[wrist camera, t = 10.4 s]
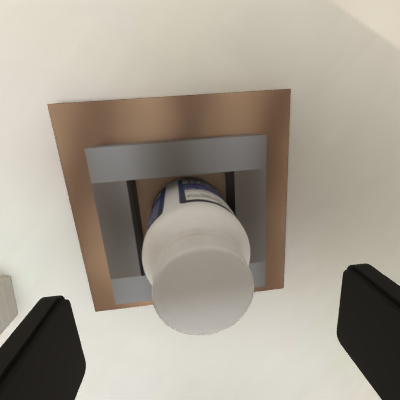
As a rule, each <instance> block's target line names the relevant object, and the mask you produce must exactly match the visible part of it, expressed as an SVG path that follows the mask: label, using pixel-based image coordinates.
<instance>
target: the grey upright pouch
mask: <svg viewBox="0 0 400 400" xmlns="http://www.w3.org/2000/svg"><path fill="white" fill-rule="evenodd" d="M17 314H18V311H17V306H16V301H15V296H14V291H13V286H12V281H11V276H0V335H1V334H2V332H3V331H4V330H5V329H6V328H7V326H8V325H9V324H10V323H11V321H12V320H13V319H14V318H15V317H16V315H17Z"/></svg>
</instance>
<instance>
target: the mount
mask: <svg viewBox="0 0 400 400" xmlns="http://www.w3.org/2000/svg"><path fill="white" fill-rule="evenodd" d="M290 92H291V89H281V90H265V91H249V92H233V93H217V94H201V95H185V96H169V97H153V98H137V99H121V100H105V101H89V102H73V103H57V104H47V105H48V110H49V114H50V118H51V122H52V127H53V131H54V135H55V140H56V144H57V148H58V153H59V157H60V161H61V165H62V170H63V174H64V178H65V183H66V187H67V191H68V196H69V200H70V204H71V209H72V213H73V217H74V221H75V226H76V230H77V234H78V239H79V243H80V247H81V252H82V256H83V260H84V264H85V269H86V273H87V277H88V282H89V286H90V290H91V295H92V299H93V303H94V307H95V312H97V311H105V310H113V309H121V308H129V307H137V306H145V305H153V301H152V285H151V284H150V282H149V280H148V279H147V277H146V274H145V272H144V268H143V264H142V248H143V241H144V237H145V234H146V230H147V226H148V222H149V218H150V214H151V210H152V206H153V203H154V200H155V198H156V196H157V195H158V193H159V192H160V191H161V190H162V189H163V188H164V187H165V186H166V185H167V184H169V183H170V182H172V181H174V180H177V179H180V178H187V177H192V178H198V179H202V180H204V181H206V182H208V183H210V184H211V185H212V186H213V187H215V188H216V190H217V191H218V192H219V193H220V195H221V196H222V198H223V199H224V200H225V202H226V203H227V205H228V206H229V208H230V209H231V210H232V212H233V213H234V215H235V216H236V217H237V218H238V220H239V222H240V223H241V225H242V226H243V228H244V230H245V232H246V234H247V237H248V240H249V244H250V262H249V268H250V270H251V273H252V276H253V281H254V292H257V291H265V290H273V289H281V288H284V263H285V235H286V206H287V178H288V149H289V121H290Z"/></svg>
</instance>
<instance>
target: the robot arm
mask: <svg viewBox="0 0 400 400" xmlns="http://www.w3.org/2000/svg"><path fill="white" fill-rule="evenodd" d="M337 337H338V340H339V342H340V344H341V345H342V346H343V348H344V349H345V350H346V352H347V353H348V355H349V356H350V357H351V359H352V360H353V361H354V363H355V364H356V365H357V367H358V368H359V369H360V371H361V372H362V373H363V375H364V376H365V378H366V379H367V380H368V382H369V383H370V384H371V386H372V387H373V388H374V390H375V391H376V392H377V394H378V395H379V396H380V398H381V399H382V400H400V286H399V285H397V284H396V283H395V282H393V281H392V280H390V279H389V278H388V277H386V276H385V275H383V274H382V273H381V272H379V271H378V270H377V269H375V268H374V267H372V266H371V265H369V264H357V265H350V266H348V268H347V270H345V271H344V272H343V279H342V288H341V297H340V307H339V316H338V325H337ZM85 369H86V362H85V358H84V354H83V350H82V346H81V342H80V339H79V335H78V331H77V327H76V323H75V319H74V316H73V312H72V308H71V304H70V301H69V300H65V298H64V297H63V296H51V297H43V298H41V299H40V300H39V301H38V302H37V304H36V305H35V306H34V307H33V309H32V310H31V311H30V312H29V313H28V315H27V316H26V317H25V318H24V319H23V321H22V322H21V323H20V324H19V326H18V327H17V328H16V329H15V330H14V332H13V333H12V334H11V335H10V337H9V338H8V339H7V340H6V341H5V343H4V344H3V345H2V346H1V348H0V400H75V397H76V395H77V392H78V390H79V387H80V385H81V382H82V379H83V377H84V374H85Z"/></svg>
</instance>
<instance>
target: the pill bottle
mask: <svg viewBox="0 0 400 400" xmlns="http://www.w3.org/2000/svg"><path fill="white" fill-rule="evenodd" d="M249 262H250V244H249V240H248V237H247V234H246V232H245V230H244V228H243V226H242V225H241V223H240V222H239V220H238V218H237V217H236V216H235V215H234V213H233V212H232V210H231V209H230V208H229V206H228V205H227V203H226V202H225V200H224V199H223V198H222V196H221V195H220V193H219V192H218V191H217V190H216V188H215V187H213V186H212V185H211V184H210V183H208V182H206V181H204V180H202V179H198V178H192V177H187V178H180V179H177V180H174V181H172V182H170V183H169V184H167V185H166V186H165V187H164V188H163V189H162V190H161V191H160V192H159V193H158V195H157V196H156V198H155V200H154V203H153V206H152V210H151V214H150V218H149V222H148V226H147V230H146V234H145V237H144V241H143V248H142V264H143V268H144V272H145V274H146V277H147V279H148V280H149V282H150V284H151V285H152V301H153V305H154V308H155V310H156V312H157V314H158V315H159V317H160V318H161V319H162V321H163V322H165V323H166V324H167V325H168V326H169V327H171V328H173V329H174V330H177V331H179V332H182V333H185V334H190V335H208V334H213V333H217V332H219V331H222V330H224V329H226V328H228V327H230V326H231V325H233V324H234V323H236V322H237V321H238V320H239V319H240V318H241V317H242V316H243V315H244V313H245V312H246V311H247V309H248V307H249V306H250V303H251V301H252V298H253V293H254V281H253V276H252V273H251V270H250V268H249Z"/></svg>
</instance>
